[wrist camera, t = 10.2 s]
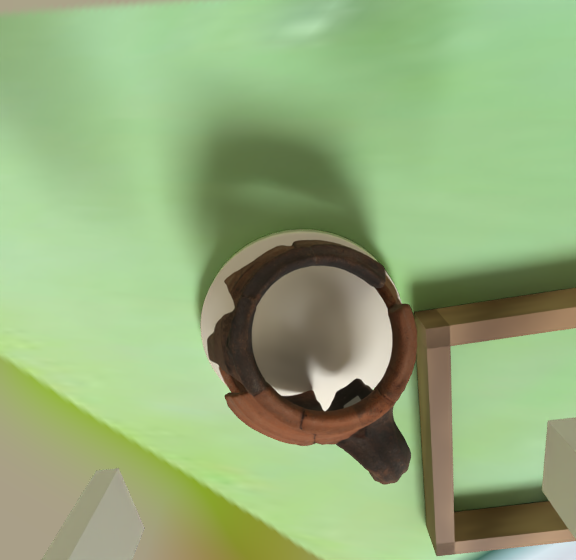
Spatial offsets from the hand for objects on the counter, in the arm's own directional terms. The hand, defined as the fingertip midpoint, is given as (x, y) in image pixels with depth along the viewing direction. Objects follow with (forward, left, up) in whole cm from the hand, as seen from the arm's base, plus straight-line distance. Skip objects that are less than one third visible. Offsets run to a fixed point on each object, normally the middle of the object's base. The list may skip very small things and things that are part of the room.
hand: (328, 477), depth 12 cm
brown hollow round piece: (0, 0, -10) cm, 10 cm away
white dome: (0, 0, -10) cm, 10 cm away
